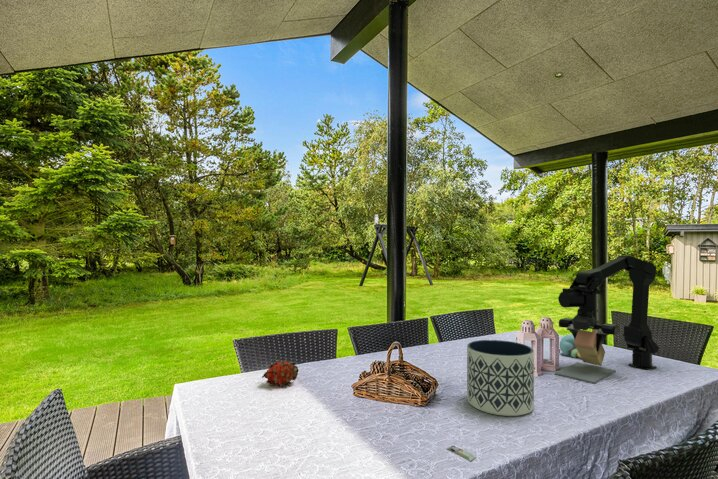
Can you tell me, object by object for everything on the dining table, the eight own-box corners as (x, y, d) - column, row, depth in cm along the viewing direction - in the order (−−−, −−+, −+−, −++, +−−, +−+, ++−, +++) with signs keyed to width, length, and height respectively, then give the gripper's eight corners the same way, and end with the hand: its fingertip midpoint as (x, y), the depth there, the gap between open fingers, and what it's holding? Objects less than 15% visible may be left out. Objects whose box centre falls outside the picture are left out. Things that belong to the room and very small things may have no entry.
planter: (501, 422, 103) (501, 359, 104) (454, 399, 120) (454, 343, 120) (548, 409, 112) (548, 350, 112) (498, 389, 128) (498, 337, 128)
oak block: (587, 348, 153) (578, 329, 148) (605, 352, 148) (596, 332, 143) (583, 362, 150) (573, 343, 145) (601, 365, 146) (591, 346, 140)
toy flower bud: (580, 341, 158) (556, 332, 169) (579, 363, 158) (555, 353, 170) (594, 339, 160) (569, 331, 172) (593, 361, 161) (568, 351, 172)
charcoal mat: (577, 363, 155) (577, 362, 155) (615, 371, 145) (615, 370, 145) (554, 374, 142) (554, 372, 142) (594, 384, 132) (594, 382, 133)
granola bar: (477, 460, 86) (477, 455, 86) (470, 463, 85) (470, 458, 85) (452, 448, 92) (452, 443, 92) (445, 451, 90) (445, 446, 90)
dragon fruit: (301, 388, 133) (265, 397, 129) (295, 367, 140) (260, 376, 136) (302, 372, 128) (264, 382, 124) (295, 351, 135) (259, 360, 131)
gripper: (551, 305, 148) (552, 348, 148) (608, 312, 134) (609, 359, 133) (564, 303, 155) (565, 343, 155) (619, 308, 141) (620, 353, 141)
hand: (588, 349), depth 146 cm, fingers closed on oak block, 6 cm apart
